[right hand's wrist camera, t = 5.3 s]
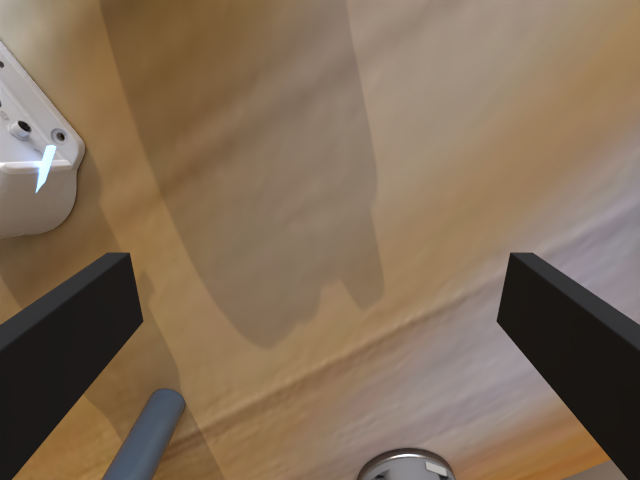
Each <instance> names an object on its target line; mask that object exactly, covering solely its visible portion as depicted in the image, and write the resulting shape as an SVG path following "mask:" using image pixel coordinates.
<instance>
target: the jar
mask: <svg viewBox="0 0 640 480" xmlns="http://www.w3.org/2000/svg"><path fill="white" fill-rule="evenodd" d="M184 409H185V401H184V398H183V397H182V396H181V395H180V394H179V393H178V392H176V391H174V390H170V389H160V390H157V391H155V392H154V393H153V394H152V395H151V396H150V398H149V400H148V401H147V403H146V405H145V406H144V408H143V410H142V411H141V413H140V415H139V416H138V418H137V420H136V422H135V423H134V425H133V427H132V428H131V430H130V432H129V433H128V435H127V437H126V439H125V440H124V442H123V444H122V445H121V447H120V449H119V450H118V452H117V454H116V455H115V457H114V459H113V461H112V462H111V464H110V466H109V467H108V469H107V471H106V472H105V474H104V476H103V477H102V479H101V480H153V477H154V475H155V473H156V471H157V469H158V466H159V464H160V462H161V460H162V458H163V455H164V453H165V451H166V449H167V446H168V444H169V442H170V440H171V438H172V435H173V433H174V431H175V429H176V427H177V424H178V422H179V420H180V418H181V415H182V413H183V411H184Z"/></svg>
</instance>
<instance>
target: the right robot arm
mask: <svg viewBox="0 0 640 480" xmlns="http://www.w3.org/2000/svg"><path fill="white" fill-rule="evenodd" d="M142 322H143V317H142V312H141V307H140V302H139V297H138V292H137V287H136V282H135V277H134V272H133V267H132V262H131V257H130V253H106V254H105V255H103V256H102V257H100V258H99V259H97V260H96V261H94V262H93V263H91V264H90V265H88V266H87V267H86V268H84V269H83V270H81V271H80V272H78V273H77V274H75V275H74V276H72V277H71V278H69V279H68V280H66V281H65V282H63V283H62V284H60V285H59V286H57V287H56V288H54V289H53V290H51V291H50V292H49V293H47V294H46V295H44V296H43V297H41V298H40V299H38V300H37V301H35V302H34V303H32V304H31V305H29V306H28V307H26V308H25V309H23V310H22V311H20V312H19V313H17V314H16V315H15V316H13V317H12V318H10V319H9V320H7V321H6V322H4V323H3V324H1V325H0V480H12V479H13V478H14V476H15V475H16V474H17V473H18V472H19V470H20V469H21V468H22V467H23V466H24V464H25V463H26V462H27V461H28V460H29V458H30V457H31V456H32V455H33V454H34V452H35V451H36V450H37V449H38V448H39V446H40V445H41V444H42V443H43V442H44V440H45V439H46V438H47V437H48V436H49V434H50V433H51V432H52V431H53V430H54V428H55V427H56V426H57V425H58V423H59V422H60V421H61V420H62V419H63V417H64V416H65V415H66V414H67V413H68V411H69V410H70V409H71V408H72V407H73V405H74V404H75V403H76V402H77V401H78V399H79V398H80V397H81V396H82V395H83V393H84V392H85V391H86V390H87V389H88V387H89V386H90V385H91V384H92V383H93V381H94V380H95V379H96V378H97V377H98V375H99V374H100V373H101V372H102V371H103V369H104V368H105V367H106V366H107V365H108V363H109V362H110V361H111V360H112V359H113V357H114V356H115V355H116V354H117V353H118V351H119V350H120V349H121V348H122V347H123V345H124V344H125V343H126V342H127V341H128V339H129V338H130V337H131V336H132V335H133V333H134V332H135V331H136V330H137V328H138V327H139V326H140V325H141V324H142ZM497 322H498V324H499V325H500V326H501V327H502V329H503V330H504V331H505V332H506V333H507V335H508V336H509V337H510V338H511V339H512V341H513V342H514V343H515V344H516V345H517V347H518V348H519V349H520V350H521V351H522V353H523V354H524V355H525V356H526V357H527V359H528V360H529V361H530V362H531V363H532V365H533V366H534V367H535V368H536V369H537V371H538V372H539V373H540V374H541V375H542V377H543V378H544V379H545V380H546V381H547V383H548V384H549V385H550V386H551V387H552V389H553V390H554V391H555V392H556V393H557V395H558V396H559V397H560V398H561V399H562V401H563V402H564V403H565V404H566V405H567V407H568V408H569V409H570V410H571V411H572V413H573V414H574V415H575V416H576V417H577V419H578V420H579V421H580V422H581V424H582V425H583V426H584V427H585V428H586V430H587V431H588V432H589V433H590V434H591V436H592V437H593V438H594V439H595V440H596V442H597V443H598V444H599V445H600V446H601V448H602V449H603V450H604V451H605V452H606V454H607V455H608V456H609V457H610V458H611V460H612V461H613V462H614V463H615V464H616V466H617V467H618V468H619V469H620V470H621V472H622V473H623V474H624V475H625V476H626V478H627V479H628V480H640V325H639V324H637V323H636V322H634V321H633V320H631V319H630V318H628V317H627V316H625V315H624V314H623V313H621V312H620V311H618V310H617V309H615V308H614V307H612V306H611V305H609V304H608V303H606V302H605V301H603V300H602V299H600V298H599V297H597V296H596V295H594V294H593V293H591V292H590V291H589V290H587V289H586V288H584V287H583V286H581V285H580V284H578V283H577V282H575V281H574V280H572V279H571V278H569V277H568V276H566V275H565V274H563V273H562V272H560V271H559V270H557V269H556V268H554V267H553V266H552V265H550V264H549V263H547V262H546V261H544V260H543V259H541V258H540V257H538V256H537V255H535V254H534V253H510V257H509V262H508V267H507V272H506V277H505V282H504V287H503V292H502V297H501V302H500V307H499V312H498V317H497ZM357 480H456V479H455V476H454V474H453V471H452V469H451V467H450V465H449V464H448V463H447V462H446V461H445V460H444V459H443V458H442V457H440V456H438V455H437V454H435V453H432V452H430V451H426V450H422V449H415V448H404V449H396V450H392V451H388V452H385V453H383V454H380V455H379V456H377V457H375V458H373V459H372V460H371V461H369V462H368V463H367V464H366V465H365V466H364V467H363V468H362V470H361V471H360V473H359V475H358V478H357Z"/></svg>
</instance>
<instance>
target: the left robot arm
mask: <svg viewBox="0 0 640 480" xmlns="http://www.w3.org/2000/svg"><path fill="white" fill-rule="evenodd" d="M61 133H62V134H63V135H64V136H65V139H64V140H63V139H62V137H61ZM84 154H85V145H84V142H83V140H82V139H81V138H80V137H79V135H78V134H77V133H76V132H75V130H74V129H73V128H72V127H71V126H70V124H69V123H68V122H67V121H66V120H65V118H64V117H63V116H62V115H61V114H60V112H59V111H58V110H57V109H56V107H55V106H54V105H53V104H52V103H51V101H50V100H49V99H48V98H47V97H46V95H45V94H44V93H43V92H42V91H41V89H40V88H39V87H38V86H37V85H36V83H35V82H34V81H33V80H32V78H31V77H30V76H29V75H28V74H27V72H26V71H25V70H24V69H23V68H22V66H21V65H20V64H19V63H18V62H17V60H16V59H15V58H14V57H13V56H12V54H11V53H10V52H9V51H8V49H7V48H6V47H5V46H4V45H3V43H2V42H1V41H0V239H5V238H10V237H16V236H24V235H37V234H42V233H45V232H48V231H50V230H52V229H54V228H56V227H57V226H59V225H60V224H61V223H62V222H63V221H64V220H65V219H66V218H67V217H68V215H69V214H70V212H71V210H72V208H73V205H74V202H75V198H76V189H77V185H76V176H77V169H78V167H79V165H80V163H81V161H82V159H83V157H84Z"/></svg>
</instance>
